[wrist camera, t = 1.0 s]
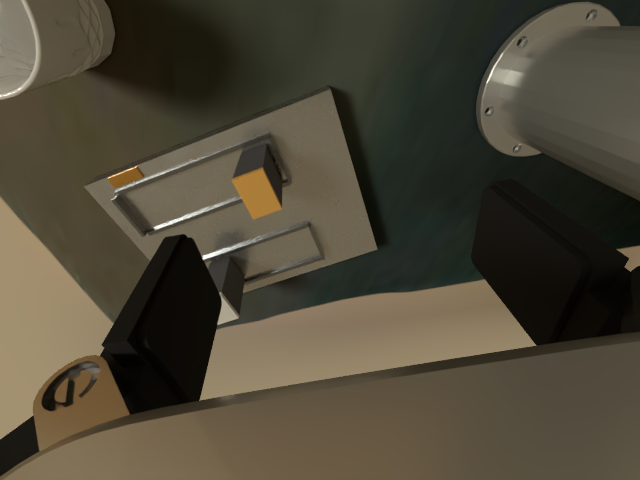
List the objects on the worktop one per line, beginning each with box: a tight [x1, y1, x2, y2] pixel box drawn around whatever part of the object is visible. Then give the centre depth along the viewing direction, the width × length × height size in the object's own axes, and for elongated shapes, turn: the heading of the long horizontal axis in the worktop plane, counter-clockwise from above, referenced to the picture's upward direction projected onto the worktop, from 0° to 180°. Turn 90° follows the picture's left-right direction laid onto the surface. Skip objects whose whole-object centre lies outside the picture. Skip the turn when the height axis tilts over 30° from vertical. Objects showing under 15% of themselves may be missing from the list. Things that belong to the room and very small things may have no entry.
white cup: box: [0, 0, 115, 100], centre depth 19 cm, size 8×8×10 cm
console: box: [84, 85, 377, 293], centre depth 32 cm, size 24×18×3 cm
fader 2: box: [232, 143, 283, 219], centre depth 26 cm, size 2×4×6 cm
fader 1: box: [208, 256, 245, 325], centre depth 33 cm, size 2×4×6 cm
